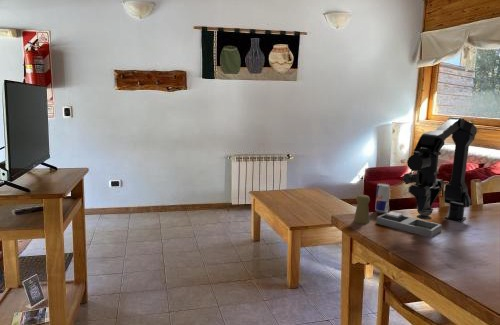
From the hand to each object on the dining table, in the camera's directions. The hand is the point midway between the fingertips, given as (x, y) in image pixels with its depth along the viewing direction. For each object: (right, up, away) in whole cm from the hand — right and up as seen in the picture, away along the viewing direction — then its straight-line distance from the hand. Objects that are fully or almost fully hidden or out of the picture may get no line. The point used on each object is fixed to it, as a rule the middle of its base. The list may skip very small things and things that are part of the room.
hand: (424, 208), depth 154 cm
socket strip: (-4, -8, +5) cm, 11 cm away
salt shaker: (0, -4, +1) cm, 4 cm away
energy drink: (-8, -4, +26) cm, 27 cm away
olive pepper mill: (-21, -7, +11) cm, 25 cm away
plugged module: (-8, -7, +9) cm, 14 cm away
